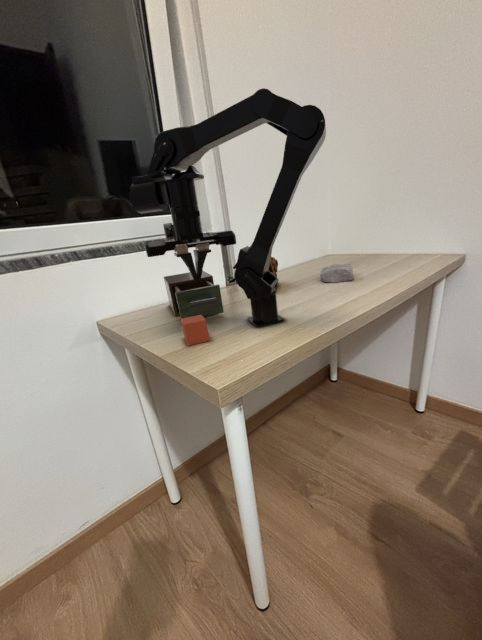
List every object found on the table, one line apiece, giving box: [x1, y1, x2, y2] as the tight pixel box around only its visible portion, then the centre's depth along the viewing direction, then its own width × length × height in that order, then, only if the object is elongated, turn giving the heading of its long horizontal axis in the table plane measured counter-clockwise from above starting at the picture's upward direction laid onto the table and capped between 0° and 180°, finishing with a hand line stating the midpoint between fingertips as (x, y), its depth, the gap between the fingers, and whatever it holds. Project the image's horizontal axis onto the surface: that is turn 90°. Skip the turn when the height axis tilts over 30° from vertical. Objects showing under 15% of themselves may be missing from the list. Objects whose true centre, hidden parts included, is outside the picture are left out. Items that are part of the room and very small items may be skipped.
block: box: [180, 315, 210, 346], centre depth 62 cm, size 4×4×4 cm
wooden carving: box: [268, 256, 279, 287], centre depth 97 cm, size 16×5×10 cm, turn 0°
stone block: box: [319, 263, 354, 283], centre depth 99 cm, size 12×5×10 cm
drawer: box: [173, 280, 225, 320], centre depth 76 cm, size 17×10×7 cm, turn 19°
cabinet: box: [163, 270, 215, 317], centre depth 86 cm, size 14×12×9 cm
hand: (197, 283), depth 69 cm, fingers closed
